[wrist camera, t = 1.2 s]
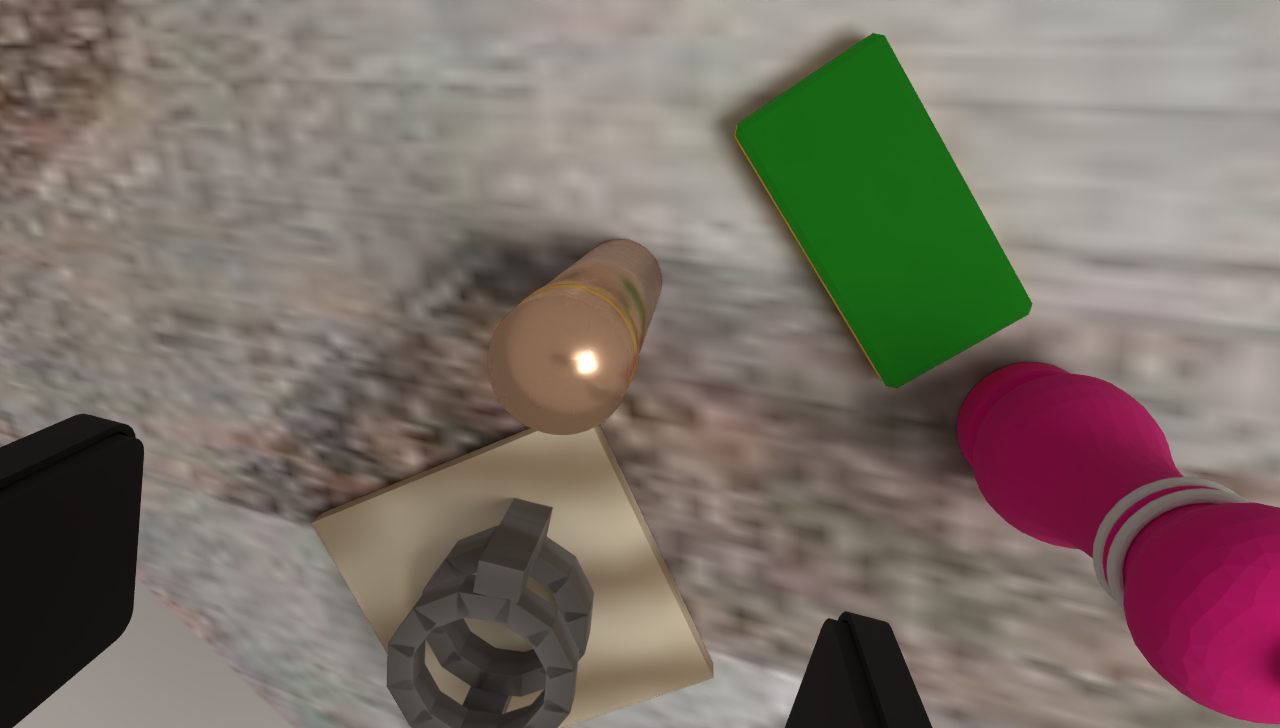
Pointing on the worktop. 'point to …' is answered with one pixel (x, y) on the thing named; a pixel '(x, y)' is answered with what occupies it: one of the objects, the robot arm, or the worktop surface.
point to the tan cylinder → (576, 340)
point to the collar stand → (516, 587)
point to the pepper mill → (1137, 528)
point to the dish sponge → (883, 213)
